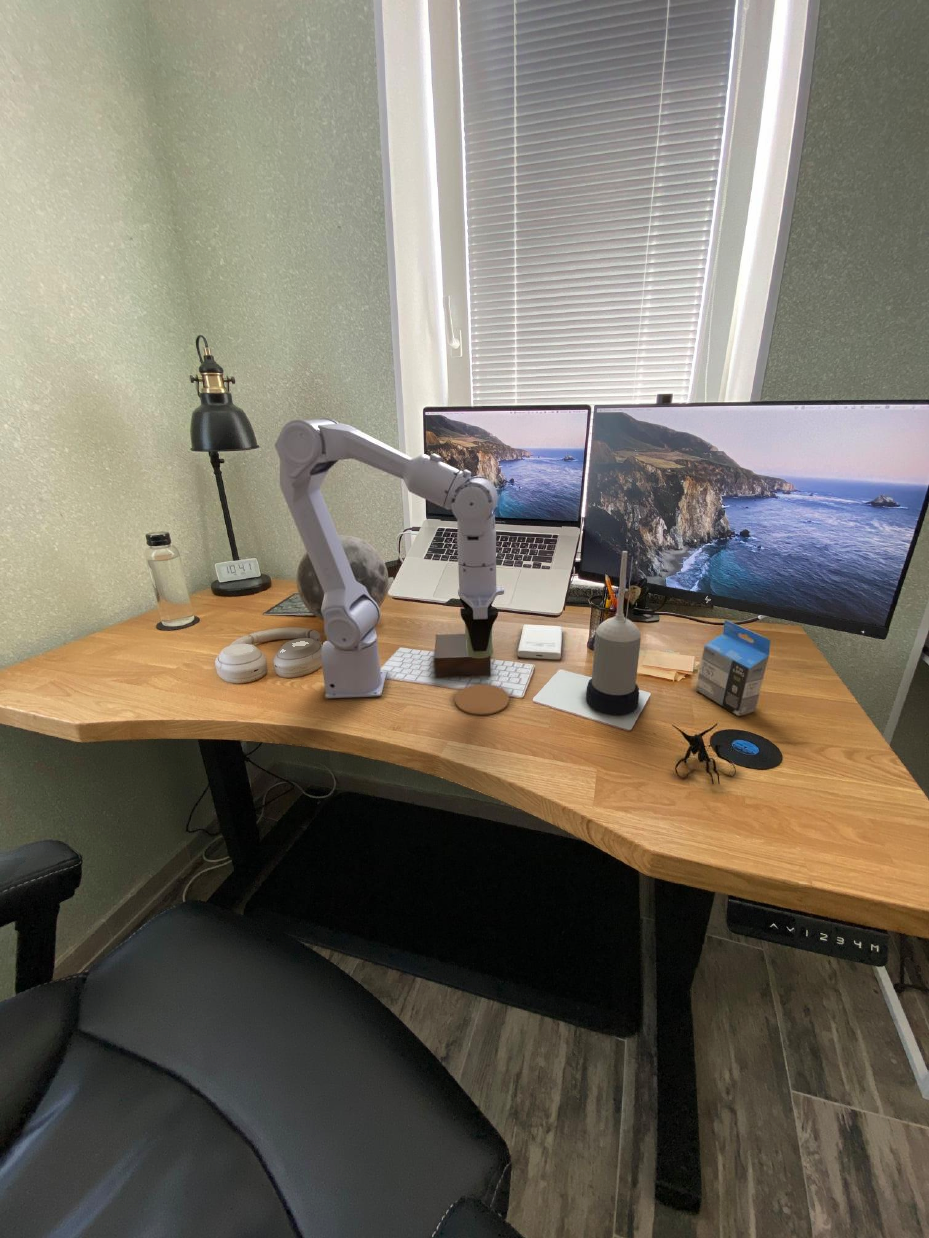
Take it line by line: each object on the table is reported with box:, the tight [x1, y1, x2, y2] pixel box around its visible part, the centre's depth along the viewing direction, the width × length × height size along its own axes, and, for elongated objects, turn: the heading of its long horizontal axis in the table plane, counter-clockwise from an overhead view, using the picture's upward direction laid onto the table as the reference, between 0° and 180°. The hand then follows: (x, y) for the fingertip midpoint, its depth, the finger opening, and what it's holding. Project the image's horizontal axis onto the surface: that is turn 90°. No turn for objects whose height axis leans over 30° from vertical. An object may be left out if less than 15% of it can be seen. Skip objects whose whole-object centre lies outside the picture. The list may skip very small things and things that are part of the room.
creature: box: [671, 722, 737, 786], centre depth 65 cm, size 8×5×8 cm
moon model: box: [295, 534, 389, 622], centre depth 113 cm, size 20×20×20 cm
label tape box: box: [695, 619, 771, 717], centre depth 79 cm, size 9×4×12 cm, turn 21°
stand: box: [433, 633, 492, 679], centre depth 95 cm, size 10×10×4 cm
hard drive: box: [517, 624, 563, 660], centre depth 102 cm, size 2×8×12 cm
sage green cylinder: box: [464, 608, 494, 658], centre depth 80 cm, size 4×4×7 cm
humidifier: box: [585, 550, 642, 717], centre depth 77 cm, size 8×8×25 cm
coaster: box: [454, 684, 510, 716], centre depth 84 cm, size 9×9×1 cm
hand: (479, 643), depth 81 cm, fingers closed on sage green cylinder, 4 cm apart
